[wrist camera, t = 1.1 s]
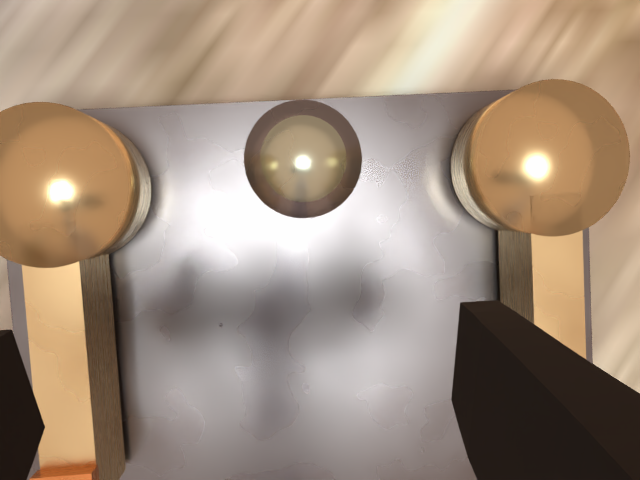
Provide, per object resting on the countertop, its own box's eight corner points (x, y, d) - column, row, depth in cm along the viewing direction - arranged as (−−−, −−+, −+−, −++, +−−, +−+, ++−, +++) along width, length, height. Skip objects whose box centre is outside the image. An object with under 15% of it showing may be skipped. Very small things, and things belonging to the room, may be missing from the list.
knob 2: (447, 101, 17) (481, 77, 14) (579, 94, 18) (639, 71, 15) (462, 439, 18) (497, 484, 15) (589, 428, 18) (648, 471, 15)
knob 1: (0, 121, 16) (-63, 101, 14) (145, 114, 17) (115, 94, 14) (33, 475, 17) (-21, 531, 14) (172, 463, 17) (148, 515, 14)
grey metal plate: (573, 474, 20) (617, 515, 17) (52, 521, 19) (14, 572, 16) (561, 96, 19) (606, 77, 17) (17, 121, 18) (-30, 106, 15)
